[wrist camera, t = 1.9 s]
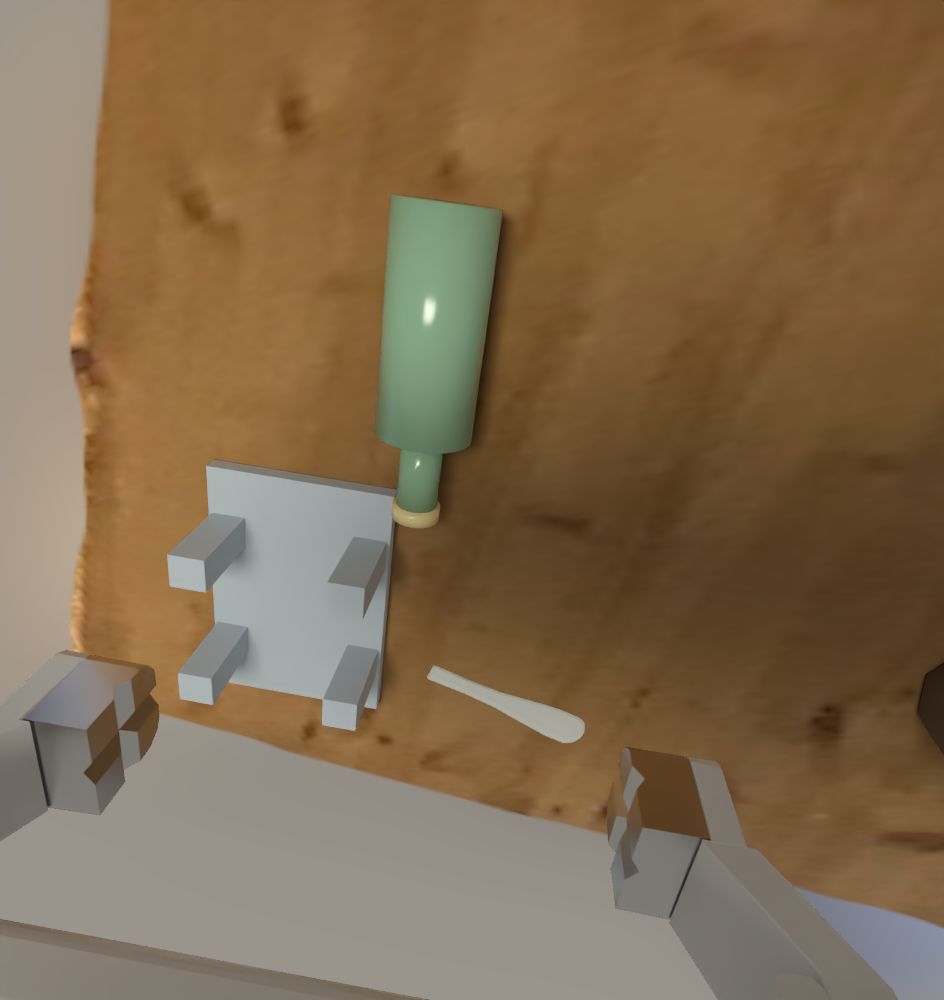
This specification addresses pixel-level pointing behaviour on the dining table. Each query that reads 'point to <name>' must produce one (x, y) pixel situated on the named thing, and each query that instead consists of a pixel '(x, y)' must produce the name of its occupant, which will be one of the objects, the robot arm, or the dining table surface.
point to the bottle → (432, 340)
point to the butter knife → (516, 707)
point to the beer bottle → (933, 705)
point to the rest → (290, 587)
